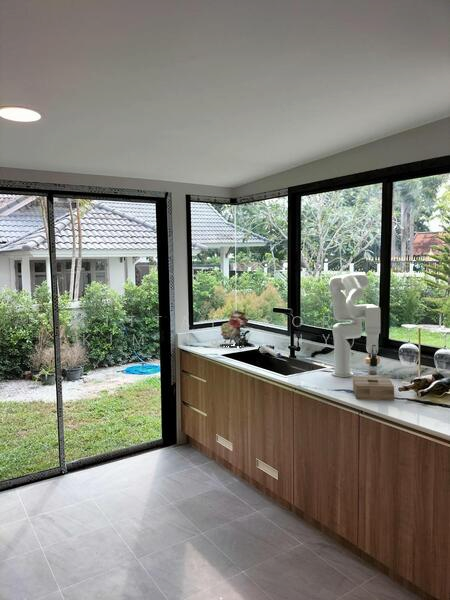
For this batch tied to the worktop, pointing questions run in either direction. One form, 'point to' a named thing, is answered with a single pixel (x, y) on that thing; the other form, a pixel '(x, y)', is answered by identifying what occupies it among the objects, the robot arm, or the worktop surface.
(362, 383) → the hitch block
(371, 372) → the pin
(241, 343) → the rose bouquet
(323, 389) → the worktop surface
